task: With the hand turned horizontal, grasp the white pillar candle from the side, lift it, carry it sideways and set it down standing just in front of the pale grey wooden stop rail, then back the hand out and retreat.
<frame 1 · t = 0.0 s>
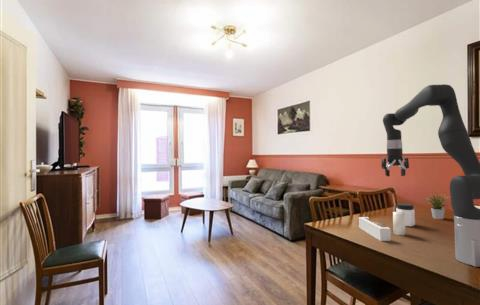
hand: (395, 176, 139), 29 cm above the table, tool pointing down, fingers open, 8 cm apart
roller a: (378, 228, 139), on the table
roller b: (375, 226, 142), on the table
white pillar candle: (399, 233, 128), on the table
stop rail: (370, 233, 129), on the table
house plant: (440, 218, 155), on the table
jar: (405, 224, 144), on the table
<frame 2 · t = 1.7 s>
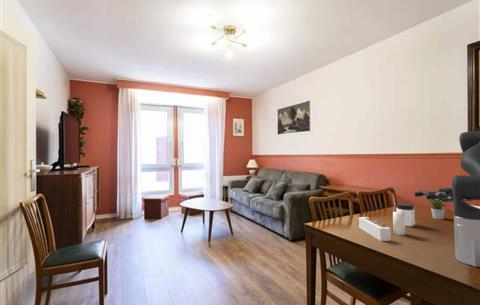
hand: (420, 195, 128), 20 cm above the table, tool horizontal, fingers open, 8 cm apart
roller a: (378, 227, 139), on the table, tilted 22°
roller b: (374, 224, 142), point 1 cm above the table, tilted 87°
everything else where it was.
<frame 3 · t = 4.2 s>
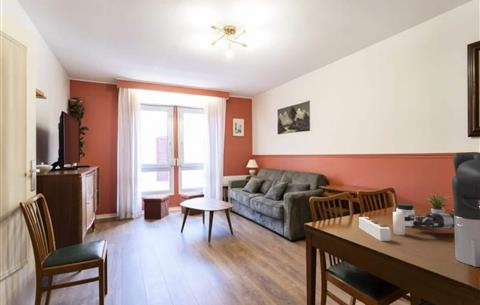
hand: (408, 221, 128), 7 cm above the table, tool horizontal, fingers open, 8 cm apart
roller a: (378, 226, 139), point 1 cm above the table, tilted 68°
roller b: (370, 220, 147), point 2 cm above the table, tilted 152°
everything else where it was.
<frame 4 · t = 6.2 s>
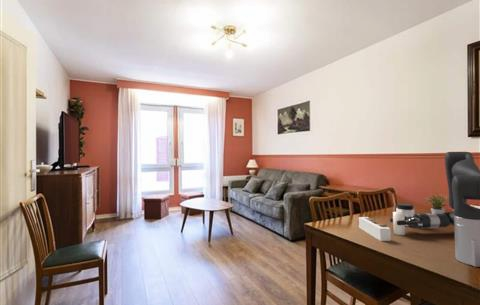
hand: (394, 221, 128), 7 cm above the table, tool horizontal, fingers closed on white pillar candle, 5 cm apart
roller b: (368, 222, 149), on the table
white pillar candle: (399, 233, 128), on the table, touching gripper
everything else where it was.
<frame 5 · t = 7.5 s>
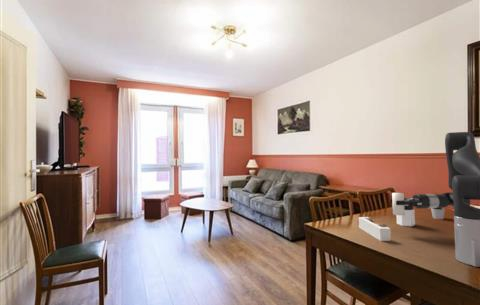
hand: (393, 201, 128), 17 cm above the table, tool horizontal, fingers closed on white pillar candle, 5 cm apart
roller a: (378, 227, 139), on the table, tilted 43°
roller b: (365, 217, 154), point 2 cm above the table, tilted 169°
white pillar candle: (398, 214, 128), point 10 cm above the table, touching gripper
everything else where it was.
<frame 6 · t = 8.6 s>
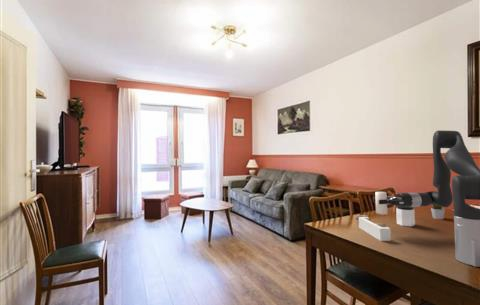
hand: (376, 200, 128), 17 cm above the table, tool horizontal, fingers closed on white pillar candle, 5 cm apart
roller a: (378, 227, 139), on the table, tilted 21°
roller b: (362, 218, 157), on the table, tilted 59°
white pillar candle: (381, 213, 128), point 11 cm above the table, touching gripper
everything else where it was.
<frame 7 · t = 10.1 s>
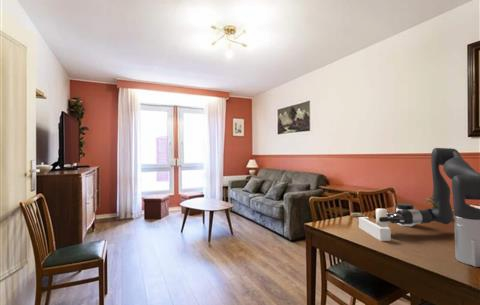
hand: (376, 218, 128), 8 cm above the table, tool horizontal, fingers closed on white pillar candle, 5 cm apart
roller a: (378, 228, 139), on the table
roller b: (357, 216, 164), on the table, tilted 13°
white pillar candle: (382, 230, 128), point 2 cm above the table, touching gripper
everything else where it was.
when the fingers open (7 cm above the table, at t = 10.9 s): white pillar candle stays where it is, on the table.
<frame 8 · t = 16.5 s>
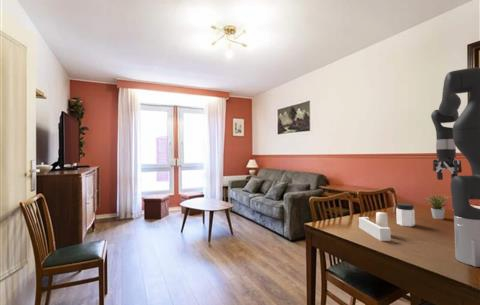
hand: (447, 180, 122), 28 cm above the table, tool pointing down, fingers open, 8 cm apart
roller a: (378, 226, 139), point 1 cm above the table, tilted 70°
white pillar candle: (382, 234, 128), on the table
at the end: white pillar candle inside the target area (0.5 cm from its centre), on the table; white pillar candle tilted 0°; the gripper is holding nothing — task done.
